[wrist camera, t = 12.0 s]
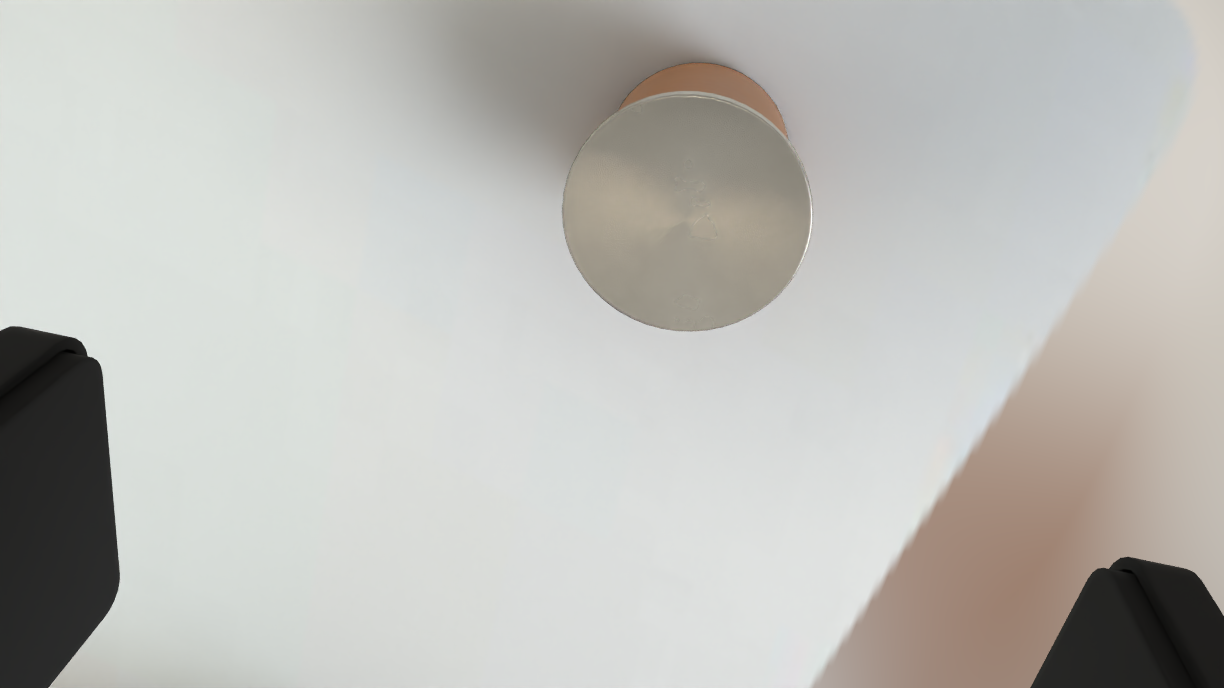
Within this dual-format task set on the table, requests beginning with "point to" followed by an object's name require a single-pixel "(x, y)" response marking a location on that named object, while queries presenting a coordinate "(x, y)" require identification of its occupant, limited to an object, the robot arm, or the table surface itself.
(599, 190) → the coffee pod
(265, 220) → the table surface
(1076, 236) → the table surface
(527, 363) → the table surface
